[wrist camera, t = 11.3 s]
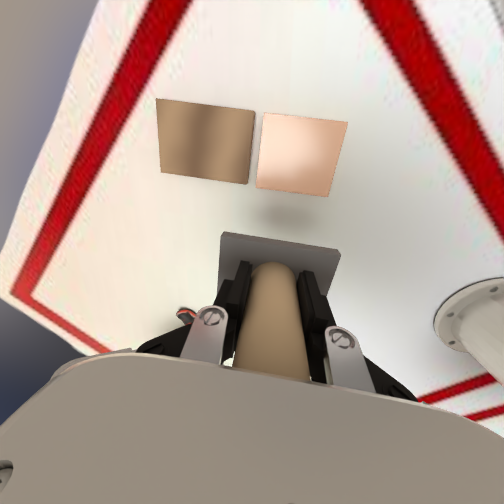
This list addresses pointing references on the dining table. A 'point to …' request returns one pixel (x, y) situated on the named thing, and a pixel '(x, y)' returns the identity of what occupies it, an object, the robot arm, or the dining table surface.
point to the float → (274, 300)
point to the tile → (299, 154)
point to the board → (204, 140)
